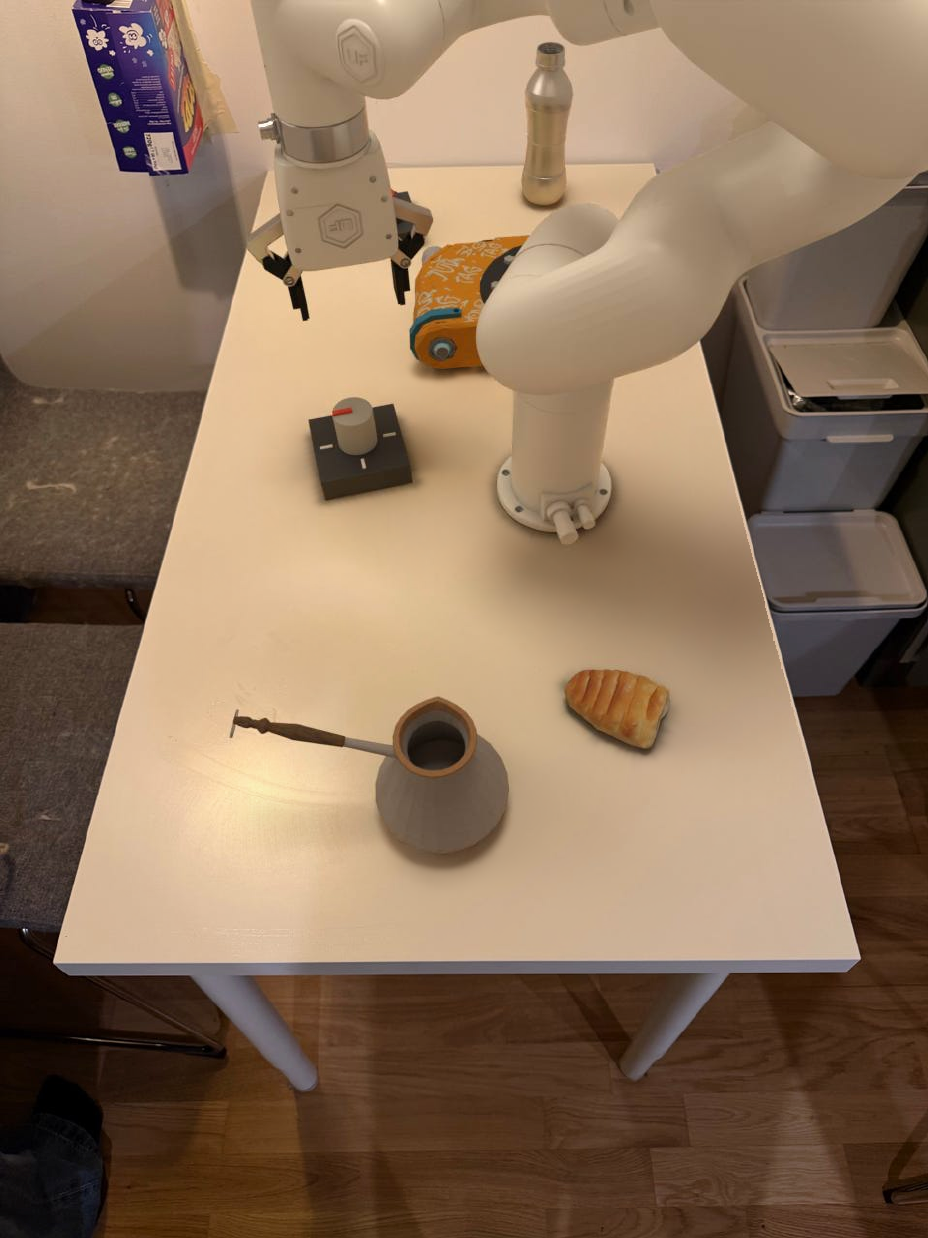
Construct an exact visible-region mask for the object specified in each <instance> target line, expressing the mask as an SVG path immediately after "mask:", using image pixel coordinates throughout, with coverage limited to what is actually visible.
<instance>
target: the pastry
mask: <svg viewBox="0 0 928 1238" xmlns="http://www.w3.org/2000/svg"><path fill="white" fill-rule="evenodd" d="M564 695H565V698H566V701H567V703H568V705H569V707H570V708H571V709H572V710H574V711H575V712H576V713H577V714H578V715H580V716H581V717H582V718H583V719H584V720H585V721H586V722H588V723H589V724H591V725H592V726H593V727H594V728H595V729H596V731H599V732H603V733H604V734H606V735H608V736H610V737H613V738H615V739H617V740H618V741H619V740H620V741H621V742H624V743H625V744H627V745H630V746H632V747H636V748H637V747H638V748H640V749H641V748H642V749H646V750H647V749H649V748H651V747H652V746H653V744H654V742H655V741H656V740H655V739H656V737H657V736H658V731H659V728H660V724H661V720H662V719H663V717H665V716H666V714H667V712H668V709H669V707H670V702H671V701H670V692H669V689H668V688H667V687H666V686H664V685H660V684H658V683H656V682H655V681H654V680H652V679H650V677H647V676H645V675H641V674H636V673H635V674H634V673H632V672H630V671H627V670H626V671H625V670H619V669H613V670H612V669H607V668H606V669H584V670H583V669H582V670H581V671H578V672H577V673H575V674H574V675H573V676H572V677H571V678H570V680H568V682H567V684H566V685H565V688H564Z"/></svg>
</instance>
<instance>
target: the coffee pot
mask: <svg viewBox="0 0 928 1238" xmlns="http://www.w3.org/2000/svg"><path fill="white" fill-rule="evenodd" d="M239 713H240V709H238V708H237V709H235V712H234V716H233V719H232V723H231V728H230V733H229V739H232V738H233V737H234V734H235V730H236V726H237V727H240V728H244V729H254V730H257V731H258V733H260V735H265V734H266V733H270V734H273V735H277V736H279V737H283V738H285V739H287V740H291V741H294V742H303V743H310V744H315V745H322V746H331V747H338V748H348V749H353V750H357V751H362V752H366V753H370V754H375V755H379V756H384V759H383V760H382V762H381V764H380V766H379V768H378V772H377V776H376V780H375V784H374V785H375V803H376V806H377V810H378V812H379V816H380V818H381V820H382V821H383V823H384V824H385V826H386V827H387V829H388V831H390V833H392V834H393V835H394V836H395V837H396V838H397V839H399V840H400V841H401V842H402V843H404V844H406V845H407V846H409V847H411V848H413V849H416V850H418V851H422V852H427V853H432V854H446V853H456V852H459V851H461V850H465V849H468V848H470V847H473V846H475V845H476V844H478V843H479V842H480V841H482V840H483V839H484V838H486V837H488V835H490V833H491V832H492V831H493V830H494V828H495V827H496V826H497V825H498V823H499V822H500V821H501V818H502V816H503V814H504V811H505V810H506V808H507V804H508V798H509V792H510V786H509V776H508V771H507V769H506V766H505V764H504V761H503V759H502V757H501V755H500V754H499V753H498V751H497V750H496V748H495V747H494V746H493V745H492V743H491V742H489V741H487V740H486V739H485V738H484V737H482V736H481V735H480V734H478V732H477V728H476V724H475V723H474V720H473V718H471V716H470V715H469V713H468V712H467V711H466V710H464V708H462V707H460V706H459V705H457V704H456V703H454V702H452V701H450V700H449V699H447V698H443V697H441V696H434V697H430V698H428V699H426V700H423V701H421V702H418V703H416V704H415V705H413V706H412V707H410V708H408V709H407V710H406V711H405V712H404V713H403V714H402V715H401V716H400V718H399V719H398V721H397V722H396V723H395V726H394V730H393V734H392V744H387V743H381V742H376V741H370V740H364V739H358V738H352V737H346V736H345V735H342V734H338V733H335V732H334V733H333V732H330V731H327V730H321V729H319V728H315V727H311V726H307V725H303V724H299V723H288V722H274V721H272V722H271V721H270V720H269V718H267V717H263V718H260V719H253V718H252V717H250V716H243V715H240V716H239Z"/></svg>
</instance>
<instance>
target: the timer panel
mask: <svg viewBox="0 0 928 1238" xmlns="http://www.w3.org/2000/svg"><path fill="white" fill-rule="evenodd" d="M372 408H373V414H374V420H375V426H376V432H377V439H378V440H377V444H376V446H375V447H374V448H373V449H372V450H371V451H370V452H368V453H366V454H362V455H350V454H347V453H345V452H344V451H342V450H341V448H340V447H339V444H338V439H337V435H336V430H335V425H334V421H333V416H332V414H330V415H326V416H320V417H315V418H310V419H308V420H307V422H308V426H309V431H310V436H311V441H312V447H313V451H314V458H315V460H316V467H317V472H318V477H319V482H320V486H321V491H322V494H323V498H324V501H329V500H334V499H340V498H344V497H349V496H354V495H359V494H364V493H369V492H374V491H380V490H385V489H389V488H395V487H400V486H404V485H410V484H413V474H412V466H411V462H410V458H409V454H408V450H407V447H406V443H405V440H404V437H403V433H402V430H401V429H402V428H401V425H400V422H399V419H398V415H397V412H396V408H395V404H394V403H388V404H384V405H378V406H372Z"/></svg>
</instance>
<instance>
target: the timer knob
mask: <svg viewBox="0 0 928 1238" xmlns="http://www.w3.org/2000/svg"><path fill="white" fill-rule="evenodd" d="M372 407H373V406H372V404H371V402H370V401H368V400H367V399H366V398H365V399H364V398H362V397H359V396H351V397H347V398H343V399H341V400H339V401H337V403H336V404H335V405H334V406H333V408H332V410H331V415H332V416H333V421H334V425H335V430H336V435H337V439H338V444H339V447H340V448H341V450H342V451H344V452H345V453H347V454H350V455H362V454H366V453H368V452H370V451H371V450H372V449H373V448H374V447H375V446H376V444H377V440H378V439H377V432H376V426H375V420H374V414H373V408H372Z"/></svg>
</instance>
